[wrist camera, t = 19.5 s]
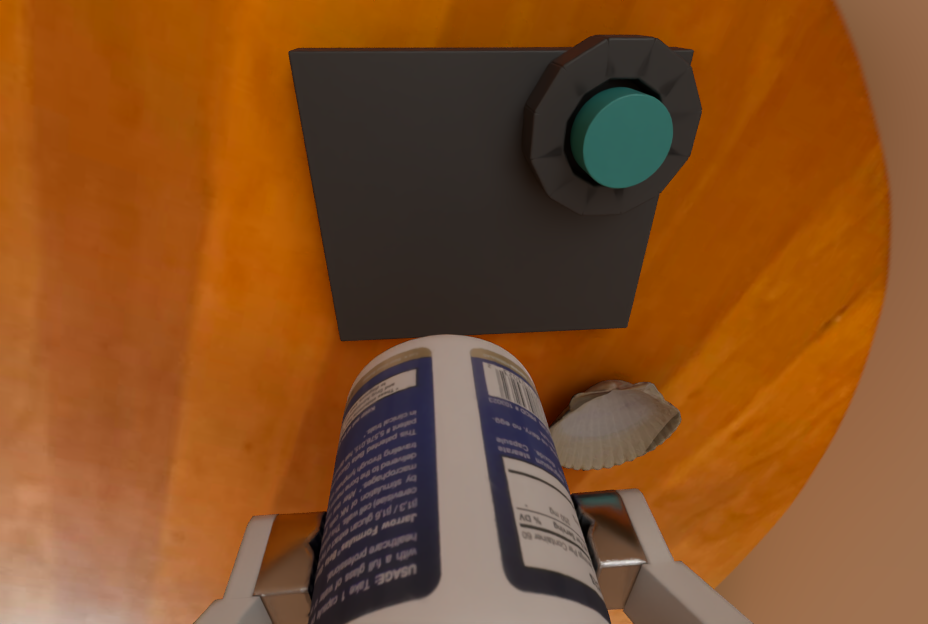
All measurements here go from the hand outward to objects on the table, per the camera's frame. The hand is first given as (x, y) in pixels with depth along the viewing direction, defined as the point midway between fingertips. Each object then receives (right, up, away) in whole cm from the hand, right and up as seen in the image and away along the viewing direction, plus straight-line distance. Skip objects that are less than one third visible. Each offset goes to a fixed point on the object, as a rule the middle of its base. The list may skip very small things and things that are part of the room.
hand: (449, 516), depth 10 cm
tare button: (+6, +11, +6) cm, 14 cm away
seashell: (+9, -1, +18) cm, 20 cm away
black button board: (+1, +9, +10) cm, 14 cm away
